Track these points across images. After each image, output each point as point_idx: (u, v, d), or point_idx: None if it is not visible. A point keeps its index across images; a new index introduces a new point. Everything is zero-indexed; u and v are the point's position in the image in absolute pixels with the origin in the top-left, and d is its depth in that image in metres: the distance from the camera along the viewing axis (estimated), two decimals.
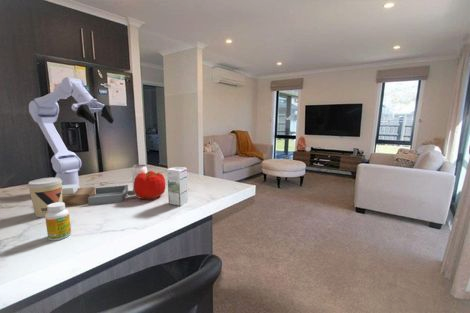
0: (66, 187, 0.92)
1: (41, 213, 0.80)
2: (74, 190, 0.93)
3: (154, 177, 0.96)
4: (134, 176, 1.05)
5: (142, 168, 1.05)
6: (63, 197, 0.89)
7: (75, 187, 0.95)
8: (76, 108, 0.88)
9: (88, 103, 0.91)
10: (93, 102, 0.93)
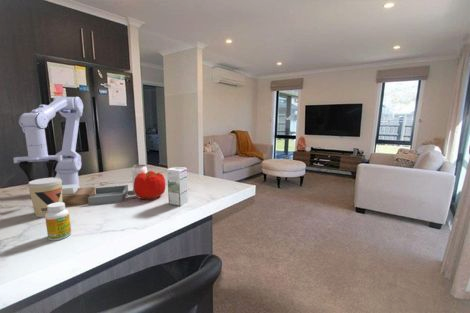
0: (66, 187, 0.92)
1: (41, 213, 0.80)
2: (74, 190, 0.93)
3: (154, 177, 0.96)
4: (134, 176, 1.05)
5: (142, 168, 1.05)
6: (63, 197, 0.89)
7: (75, 187, 0.95)
8: None
9: (29, 159, 0.86)
10: (34, 159, 0.86)
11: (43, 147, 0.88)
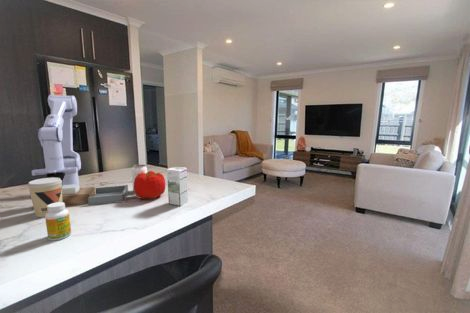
0: (68, 187, 0.93)
1: (41, 213, 0.80)
2: (76, 190, 0.94)
3: (154, 177, 0.96)
4: (134, 176, 1.05)
5: (142, 168, 1.05)
6: (63, 197, 0.89)
7: (77, 187, 0.95)
8: None
9: None
10: None
11: (60, 160, 0.90)
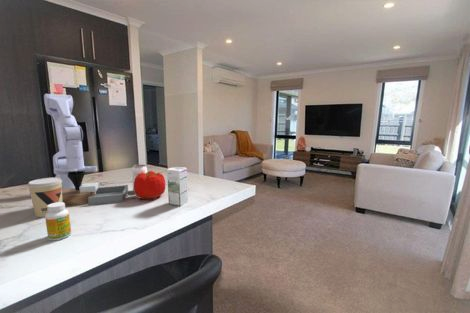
0: (88, 185, 0.95)
1: (41, 213, 0.80)
2: (96, 188, 0.96)
3: (154, 177, 0.96)
4: (134, 176, 1.05)
5: (142, 168, 1.05)
6: (63, 197, 0.89)
7: (96, 185, 0.97)
8: None
9: (68, 170, 0.91)
10: (73, 170, 0.91)
11: (81, 159, 0.93)
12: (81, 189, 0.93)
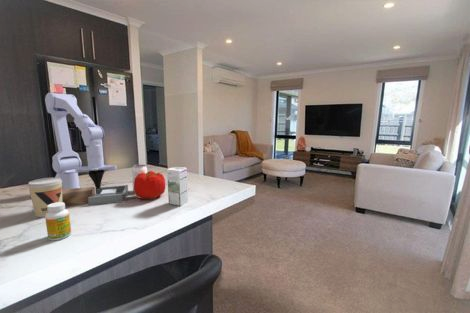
0: None
1: (41, 213, 0.80)
2: None
3: (154, 177, 0.96)
4: (134, 176, 1.05)
5: (142, 168, 1.05)
6: (63, 197, 0.89)
7: None
8: None
9: (89, 169, 0.94)
10: (94, 169, 0.94)
11: (101, 158, 0.95)
12: None
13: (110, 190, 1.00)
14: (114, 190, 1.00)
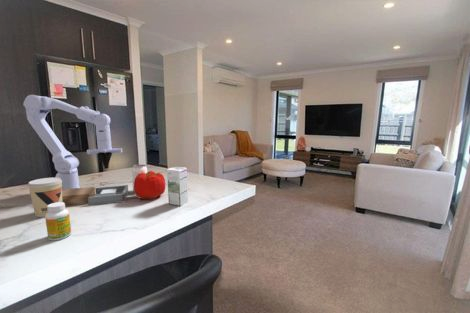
0: None
1: (41, 213, 0.80)
2: None
3: (154, 177, 0.96)
4: (134, 176, 1.05)
5: (142, 168, 1.05)
6: (63, 197, 0.89)
7: None
8: (88, 153, 1.07)
9: (99, 151, 1.07)
10: (103, 151, 1.07)
11: (109, 141, 1.08)
12: None
13: (110, 190, 1.00)
14: (114, 190, 1.00)
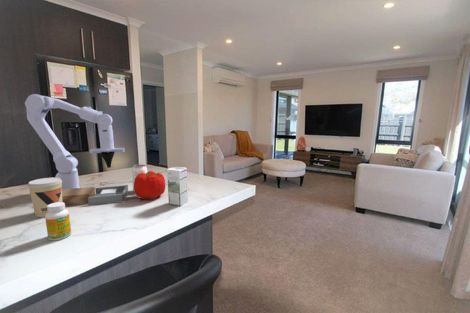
0: None
1: (41, 213, 0.80)
2: None
3: (154, 177, 0.96)
4: (134, 176, 1.05)
5: (142, 168, 1.05)
6: (63, 197, 0.89)
7: None
8: (91, 153, 1.09)
9: (101, 150, 1.09)
10: (106, 150, 1.09)
11: (112, 141, 1.10)
12: None
13: (110, 190, 1.00)
14: (114, 190, 1.00)
